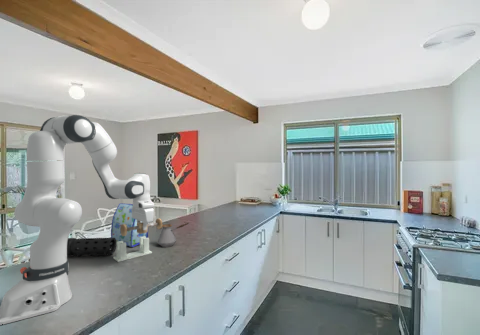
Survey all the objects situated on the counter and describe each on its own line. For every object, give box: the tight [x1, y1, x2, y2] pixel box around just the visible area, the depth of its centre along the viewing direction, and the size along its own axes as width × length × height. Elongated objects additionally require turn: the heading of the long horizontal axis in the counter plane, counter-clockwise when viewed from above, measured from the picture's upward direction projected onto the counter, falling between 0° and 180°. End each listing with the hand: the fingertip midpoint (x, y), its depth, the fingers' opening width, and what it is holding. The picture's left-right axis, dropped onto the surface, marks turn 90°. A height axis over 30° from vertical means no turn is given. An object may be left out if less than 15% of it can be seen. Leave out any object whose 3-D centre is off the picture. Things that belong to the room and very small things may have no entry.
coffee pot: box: [157, 222, 190, 248], centre depth 161 cm, size 21×12×15 cm, turn 79°
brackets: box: [113, 236, 153, 262], centre depth 143 cm, size 19×7×9 cm, turn 135°
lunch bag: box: [110, 203, 149, 248], centre depth 168 cm, size 22×17×26 cm
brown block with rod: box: [120, 217, 164, 236], centre depth 135 cm, size 20×6×6 cm, turn 134°
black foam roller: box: [67, 237, 117, 257], centre depth 144 cm, size 10×28×10 cm, turn 93°
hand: (142, 228), depth 135 cm, fingers closed on brown block with rod, 4 cm apart
